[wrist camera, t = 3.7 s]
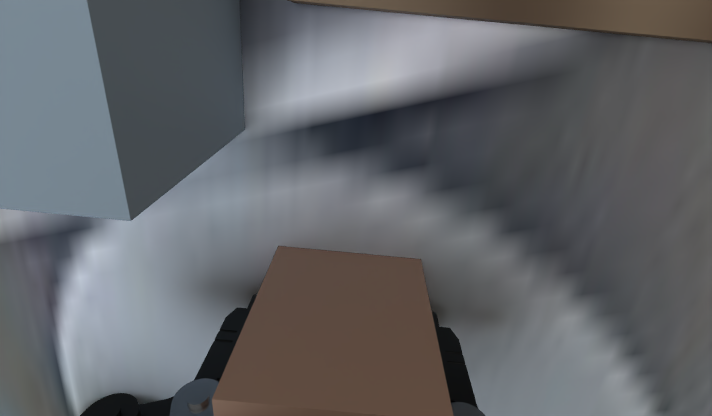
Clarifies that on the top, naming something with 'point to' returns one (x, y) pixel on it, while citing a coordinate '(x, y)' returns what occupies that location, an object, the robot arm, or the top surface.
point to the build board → (563, 14)
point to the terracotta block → (337, 341)
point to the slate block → (113, 100)
